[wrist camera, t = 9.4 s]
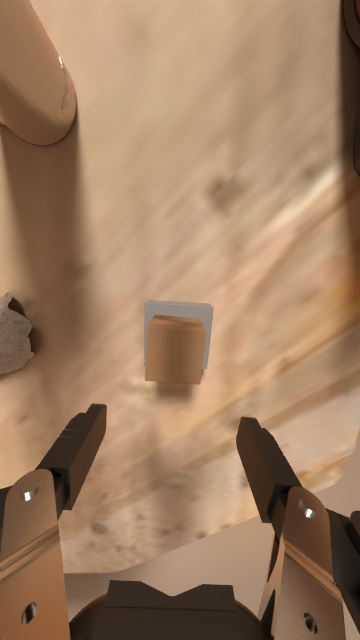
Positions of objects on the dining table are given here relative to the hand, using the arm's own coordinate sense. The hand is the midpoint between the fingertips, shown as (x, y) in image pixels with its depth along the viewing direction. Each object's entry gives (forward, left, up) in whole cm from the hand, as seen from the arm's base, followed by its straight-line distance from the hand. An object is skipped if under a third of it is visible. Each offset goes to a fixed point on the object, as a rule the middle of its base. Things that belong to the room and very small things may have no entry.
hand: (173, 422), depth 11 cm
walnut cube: (0, 0, -15) cm, 15 cm away
